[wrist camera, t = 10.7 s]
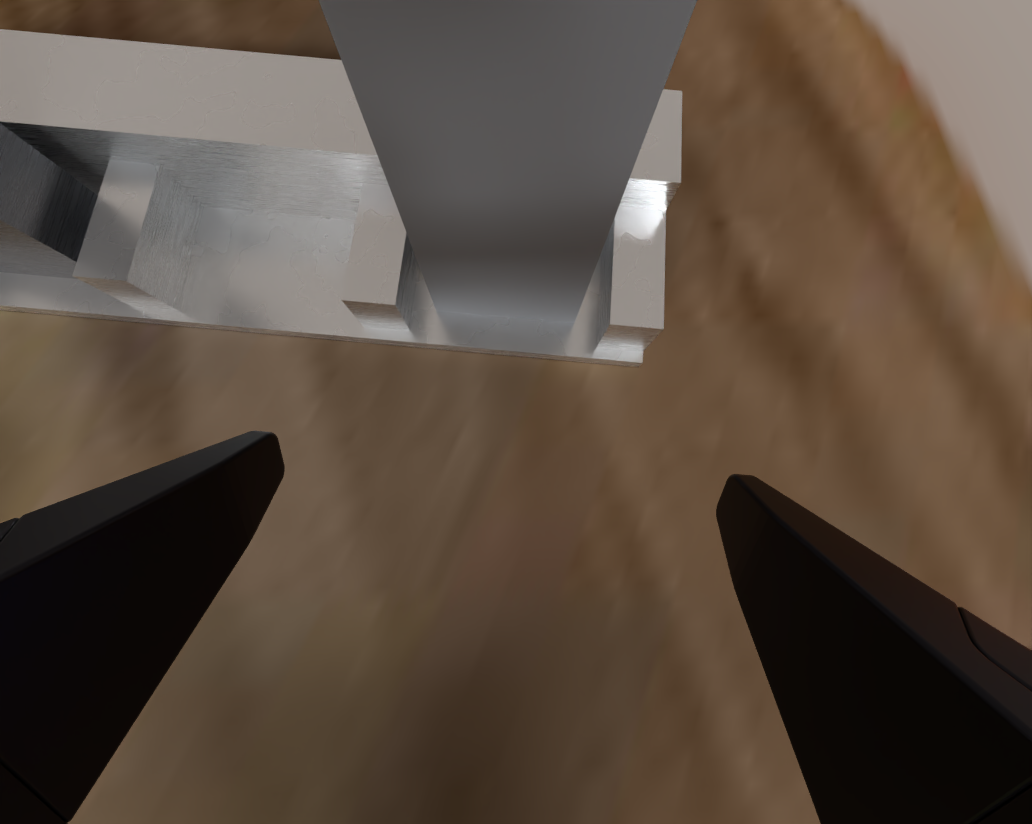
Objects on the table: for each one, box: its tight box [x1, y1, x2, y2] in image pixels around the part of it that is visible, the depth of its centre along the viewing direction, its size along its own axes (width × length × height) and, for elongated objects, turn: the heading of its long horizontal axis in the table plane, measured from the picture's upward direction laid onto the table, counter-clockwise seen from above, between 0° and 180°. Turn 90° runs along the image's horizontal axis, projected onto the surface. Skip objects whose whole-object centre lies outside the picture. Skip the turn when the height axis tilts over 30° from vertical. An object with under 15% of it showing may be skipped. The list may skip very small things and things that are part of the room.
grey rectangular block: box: [319, 0, 697, 323], centre depth 13 cm, size 3×6×13 cm, turn 85°
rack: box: [0, 29, 682, 367], centre depth 13 cm, size 10×32×14 cm, turn 85°
